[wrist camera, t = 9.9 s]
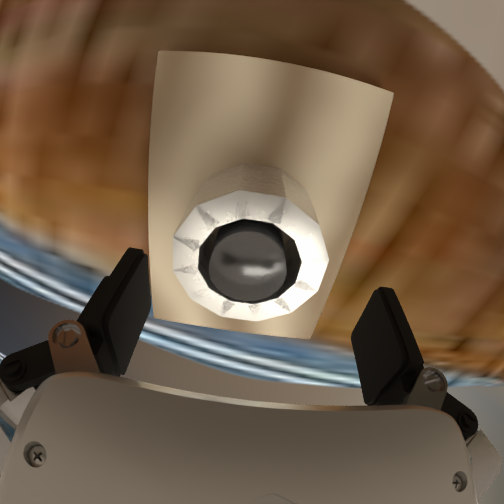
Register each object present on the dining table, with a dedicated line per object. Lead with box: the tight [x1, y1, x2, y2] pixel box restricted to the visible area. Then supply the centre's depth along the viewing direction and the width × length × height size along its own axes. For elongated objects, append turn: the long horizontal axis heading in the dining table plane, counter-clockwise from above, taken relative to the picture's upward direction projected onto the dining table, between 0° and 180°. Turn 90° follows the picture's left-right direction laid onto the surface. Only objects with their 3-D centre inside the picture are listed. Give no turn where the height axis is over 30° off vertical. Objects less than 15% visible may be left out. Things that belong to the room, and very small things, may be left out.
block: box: [148, 51, 394, 339], centre depth 17 cm, size 12×18×2 cm, turn 171°
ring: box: [173, 162, 329, 321], centre depth 15 cm, size 7×7×4 cm
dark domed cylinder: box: [209, 218, 287, 301], centre depth 15 cm, size 3×3×4 cm
